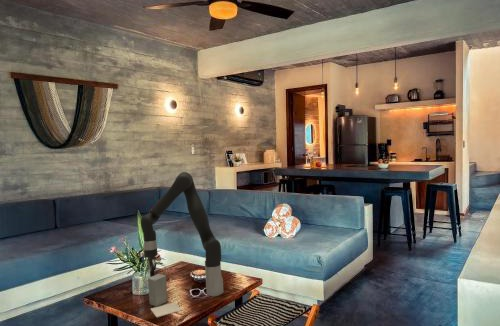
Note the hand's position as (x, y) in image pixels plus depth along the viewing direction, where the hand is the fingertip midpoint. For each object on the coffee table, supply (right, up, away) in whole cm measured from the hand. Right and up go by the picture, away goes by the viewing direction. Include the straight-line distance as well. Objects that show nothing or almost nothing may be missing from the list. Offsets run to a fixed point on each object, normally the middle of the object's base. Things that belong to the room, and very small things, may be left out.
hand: (152, 276), depth 225 cm
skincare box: (+6, -13, -8) cm, 16 cm away
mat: (+12, -13, -17) cm, 24 cm away
